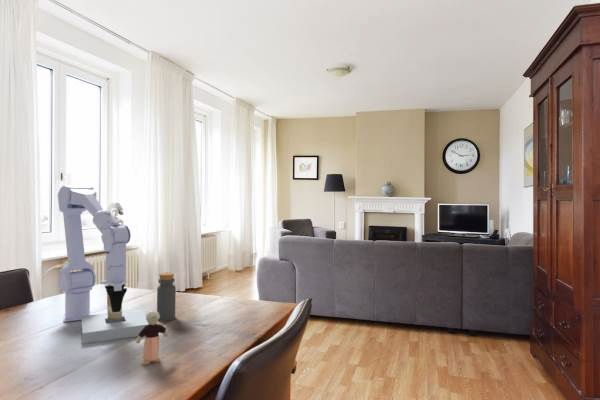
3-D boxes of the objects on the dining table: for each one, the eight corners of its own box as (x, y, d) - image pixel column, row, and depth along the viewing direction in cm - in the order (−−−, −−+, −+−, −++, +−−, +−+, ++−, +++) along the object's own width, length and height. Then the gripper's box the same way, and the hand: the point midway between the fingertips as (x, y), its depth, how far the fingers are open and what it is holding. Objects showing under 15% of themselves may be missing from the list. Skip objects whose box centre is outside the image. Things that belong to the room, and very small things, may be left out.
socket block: (81, 325, 128) (81, 316, 128) (142, 318, 136) (142, 309, 136) (82, 344, 112) (82, 333, 112) (151, 334, 121) (151, 323, 121)
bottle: (169, 321, 133) (170, 275, 133) (153, 320, 134) (153, 274, 134) (178, 316, 139) (178, 272, 139) (162, 315, 140) (163, 271, 140)
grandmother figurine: (141, 368, 97) (142, 315, 97) (133, 363, 99) (134, 312, 99) (170, 358, 103) (171, 308, 103) (162, 354, 105) (163, 305, 105)
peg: (107, 317, 125) (106, 291, 125) (121, 315, 127) (120, 289, 127) (108, 321, 121) (107, 294, 121) (122, 318, 123) (121, 292, 123)
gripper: (100, 262, 128) (99, 305, 129) (102, 270, 116) (102, 317, 116) (124, 261, 132) (123, 303, 132) (129, 268, 119) (129, 314, 119)
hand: (115, 309), depth 124 cm, fingers closed on peg, 4 cm apart
